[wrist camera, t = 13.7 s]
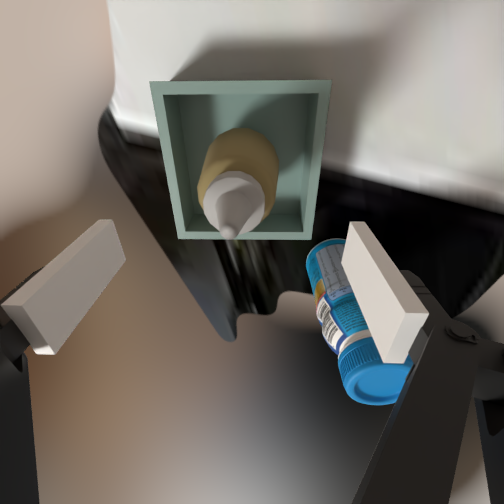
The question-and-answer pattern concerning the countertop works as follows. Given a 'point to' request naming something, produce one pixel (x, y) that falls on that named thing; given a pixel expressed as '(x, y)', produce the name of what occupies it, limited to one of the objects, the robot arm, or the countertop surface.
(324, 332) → the beverage bottle
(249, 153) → the squeeze bottle
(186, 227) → the box
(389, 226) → the countertop surface
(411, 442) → the robot arm
